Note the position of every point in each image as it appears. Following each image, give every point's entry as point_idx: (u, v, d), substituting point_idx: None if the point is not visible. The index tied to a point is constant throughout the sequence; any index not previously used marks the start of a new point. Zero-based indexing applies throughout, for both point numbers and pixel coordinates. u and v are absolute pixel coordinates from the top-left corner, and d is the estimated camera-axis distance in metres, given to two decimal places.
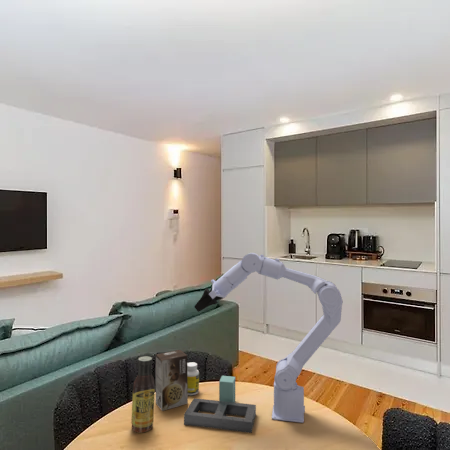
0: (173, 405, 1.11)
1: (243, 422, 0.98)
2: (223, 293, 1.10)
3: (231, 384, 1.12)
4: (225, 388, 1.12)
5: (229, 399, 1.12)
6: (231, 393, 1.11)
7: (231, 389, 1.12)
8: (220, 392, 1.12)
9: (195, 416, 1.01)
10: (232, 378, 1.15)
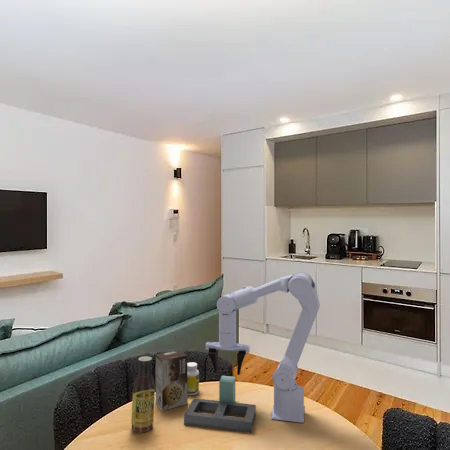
0: (173, 405, 1.11)
1: (243, 422, 0.98)
2: (219, 344, 1.13)
3: (231, 384, 1.12)
4: (225, 388, 1.12)
5: (229, 399, 1.12)
6: (231, 393, 1.11)
7: (231, 389, 1.12)
8: (220, 392, 1.12)
9: (195, 416, 1.01)
10: (232, 378, 1.15)
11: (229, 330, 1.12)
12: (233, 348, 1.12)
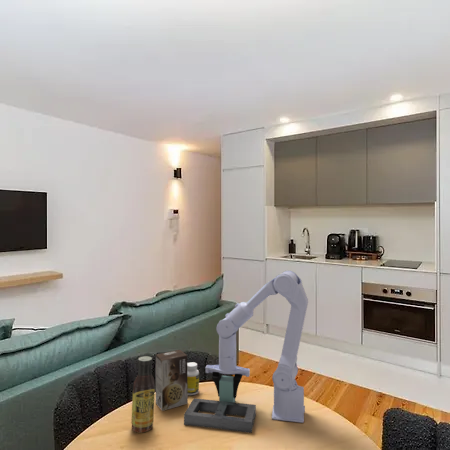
0: (173, 405, 1.11)
1: (243, 422, 0.98)
2: (219, 368, 1.13)
3: (231, 384, 1.12)
4: (225, 387, 1.12)
5: (229, 399, 1.12)
6: (231, 393, 1.12)
7: (231, 389, 1.12)
8: (220, 392, 1.12)
9: (195, 416, 1.01)
10: (232, 378, 1.15)
11: (229, 354, 1.12)
12: (233, 372, 1.11)
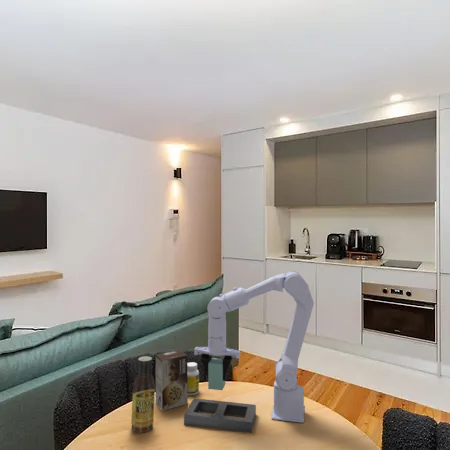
0: (173, 405, 1.11)
1: (243, 422, 0.98)
2: (208, 349, 1.09)
3: (220, 366, 1.07)
4: (215, 370, 1.08)
5: (218, 381, 1.07)
6: (220, 375, 1.07)
7: (220, 371, 1.07)
8: (209, 374, 1.08)
9: (195, 416, 1.01)
10: (222, 360, 1.10)
11: (221, 334, 1.07)
12: (222, 353, 1.07)
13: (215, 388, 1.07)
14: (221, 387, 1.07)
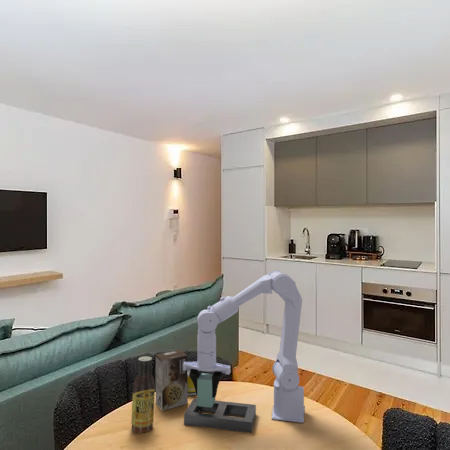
0: (173, 405, 1.11)
1: (243, 422, 0.98)
2: (197, 365, 1.04)
3: (210, 382, 1.03)
4: (204, 386, 1.03)
5: (208, 398, 1.03)
6: (210, 392, 1.03)
7: (210, 388, 1.03)
8: (198, 391, 1.04)
9: (195, 416, 1.01)
10: None
11: (212, 349, 1.03)
12: (212, 369, 1.03)
13: (204, 405, 1.03)
14: (210, 404, 1.03)
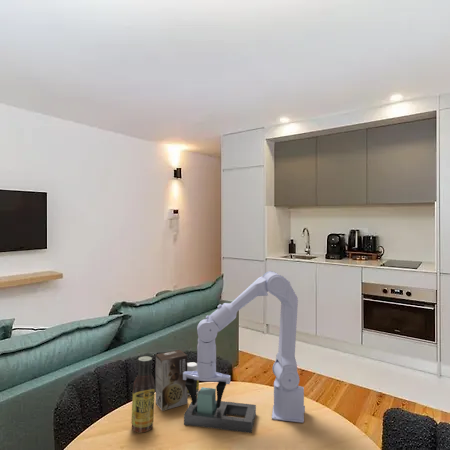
0: (173, 405, 1.11)
1: (243, 422, 0.98)
2: (197, 374, 1.04)
3: (210, 397, 1.03)
4: (204, 401, 1.03)
5: (208, 413, 1.03)
6: (210, 407, 1.03)
7: (210, 403, 1.03)
8: (198, 406, 1.04)
9: (195, 416, 1.01)
10: (212, 390, 1.06)
11: (212, 359, 1.03)
12: (212, 379, 1.03)
13: None
14: None
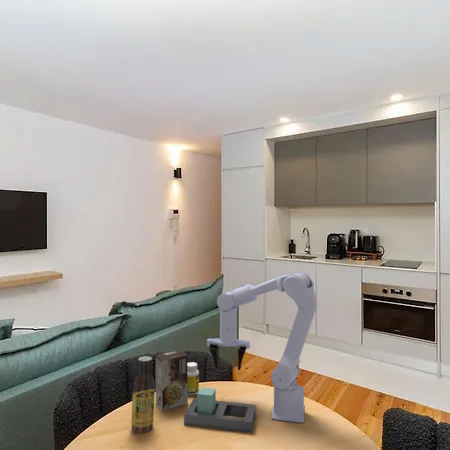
0: (173, 405, 1.11)
1: (243, 422, 0.98)
2: (220, 340, 1.16)
3: (210, 397, 1.03)
4: (204, 401, 1.03)
5: (208, 413, 1.03)
6: (210, 407, 1.03)
7: (210, 403, 1.03)
8: (198, 406, 1.04)
9: (195, 416, 1.01)
10: (212, 390, 1.06)
11: (229, 326, 1.15)
12: (234, 344, 1.15)
13: None
14: None
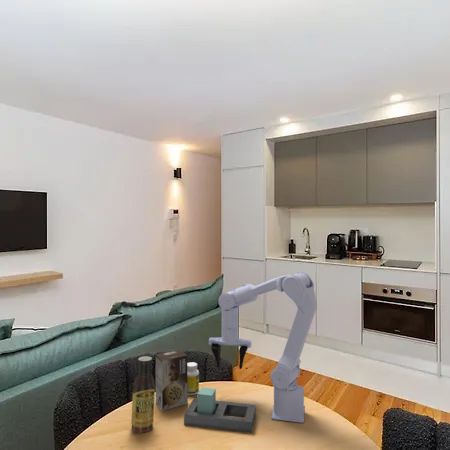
0: (173, 405, 1.11)
1: (243, 422, 0.98)
2: (222, 339, 1.17)
3: (210, 397, 1.03)
4: (204, 401, 1.03)
5: (208, 413, 1.03)
6: (210, 407, 1.03)
7: (210, 403, 1.03)
8: (198, 406, 1.04)
9: (195, 416, 1.01)
10: (212, 390, 1.06)
11: (230, 326, 1.15)
12: (235, 343, 1.15)
13: None
14: None
